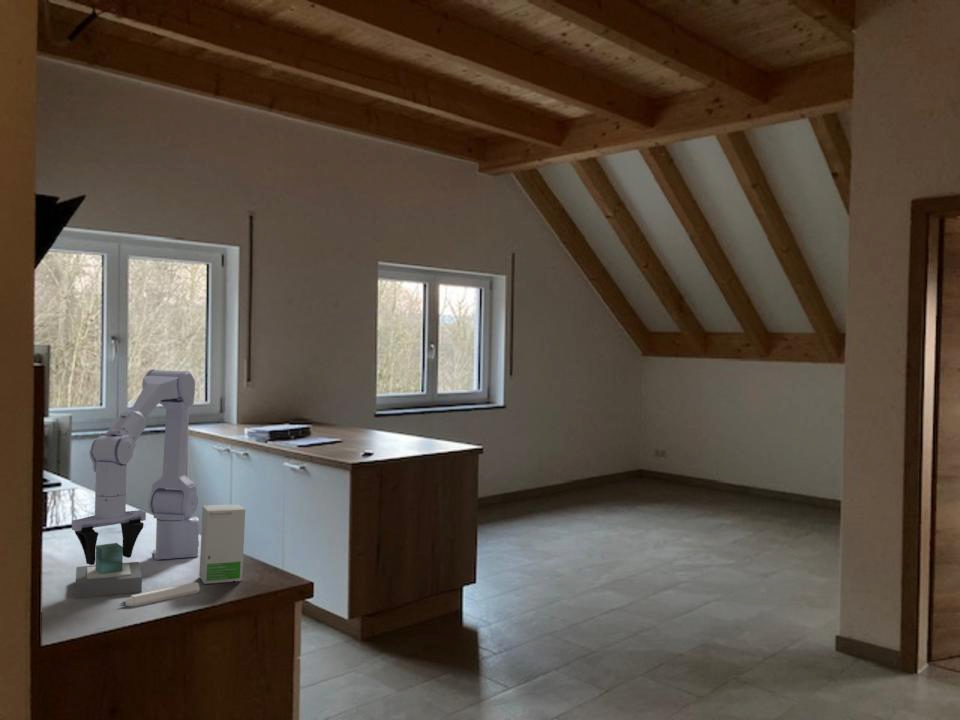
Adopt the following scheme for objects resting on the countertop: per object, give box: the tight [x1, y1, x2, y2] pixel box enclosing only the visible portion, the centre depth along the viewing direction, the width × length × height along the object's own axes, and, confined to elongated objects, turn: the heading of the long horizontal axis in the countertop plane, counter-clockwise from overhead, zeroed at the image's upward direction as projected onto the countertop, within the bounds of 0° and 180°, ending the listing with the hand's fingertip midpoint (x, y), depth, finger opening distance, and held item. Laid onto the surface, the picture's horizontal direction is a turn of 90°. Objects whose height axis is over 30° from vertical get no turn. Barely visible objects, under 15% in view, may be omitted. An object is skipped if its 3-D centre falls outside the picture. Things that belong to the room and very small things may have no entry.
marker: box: [117, 581, 201, 607], centre depth 157 cm, size 3×2×16 cm
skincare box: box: [198, 504, 246, 585], centre depth 172 cm, size 8×7×16 cm
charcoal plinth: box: [74, 561, 143, 599], centre depth 164 cm, size 12×12×3 cm
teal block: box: [95, 542, 124, 574], centre depth 164 cm, size 4×4×5 cm
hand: (109, 560), depth 164 cm, fingers open, 7 cm apart
